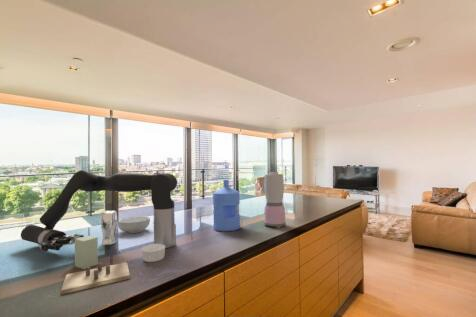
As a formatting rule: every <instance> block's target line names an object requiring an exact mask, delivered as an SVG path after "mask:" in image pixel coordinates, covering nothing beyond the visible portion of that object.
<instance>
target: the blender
mask: <svg viewBox="0 0 476 317" xmlns="http://www.w3.org/2000/svg"><path fill="white" fill-rule="evenodd" d="M284 186H285V184H284V174H282V173H279V171H269V173H265V174H264V176H263V177H262V178H261V191H262V193H263V194H264V195H265V199H266V200H265V201H266V204H265V207H264V226H265V227H267V226H269V227H275V228H276V229H280V228H281V227H286V223H287V222H286V209H285V208H286V207H285V206H284V203H283V202H284V201H283V199H284V193H285V188H284Z"/></svg>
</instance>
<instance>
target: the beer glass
mask: <svg viewBox="0 0 476 317" xmlns="http://www.w3.org/2000/svg"><path fill="white" fill-rule="evenodd" d="M100 214H101V215H100V226H101V227H100V228H101V233H102V241H101V245H102V246H110V245H114V244H116V242H117V240H116V239H117V238H116V232H117V226H118V215H117V214H118V213H117V210H105V211H102V212H101V213H100Z"/></svg>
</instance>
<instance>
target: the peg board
mask: <svg viewBox="0 0 476 317" xmlns="http://www.w3.org/2000/svg"><path fill="white" fill-rule="evenodd" d="M102 265H103V263H102V262H98V264H97V267H96V268H92V269H91V267H86V269H84V270H81V271H76V272H71V273H66V275H65V278H64V281H63V284H62V286H61V290H60V295H66V294H70V293H75V292H78V291H83V290H86V289H91V288H96V287H99V286H104V285H108V284H112V283H116V282H121V281H126V280H129V279H131V273H130V271H129V266H128V262H125V261H124V262H121V263H117V264H116V263H115V264H112V265H111V264H110V265H109V264H108V265H106V266H102Z"/></svg>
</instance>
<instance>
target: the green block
mask: <svg viewBox="0 0 476 317" xmlns="http://www.w3.org/2000/svg"><path fill="white" fill-rule="evenodd" d="M98 239H99V238H98V236H93V235H86V236H85V235H84V237H80V238H76V239H75V243H74V267H76V268H79V269H82V270H86V267H90V268H91V267H93V266H96V265H97V266H98V263H99V260H98V256H99V254H98V248H99V247H98V245H99V242H98Z"/></svg>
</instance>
